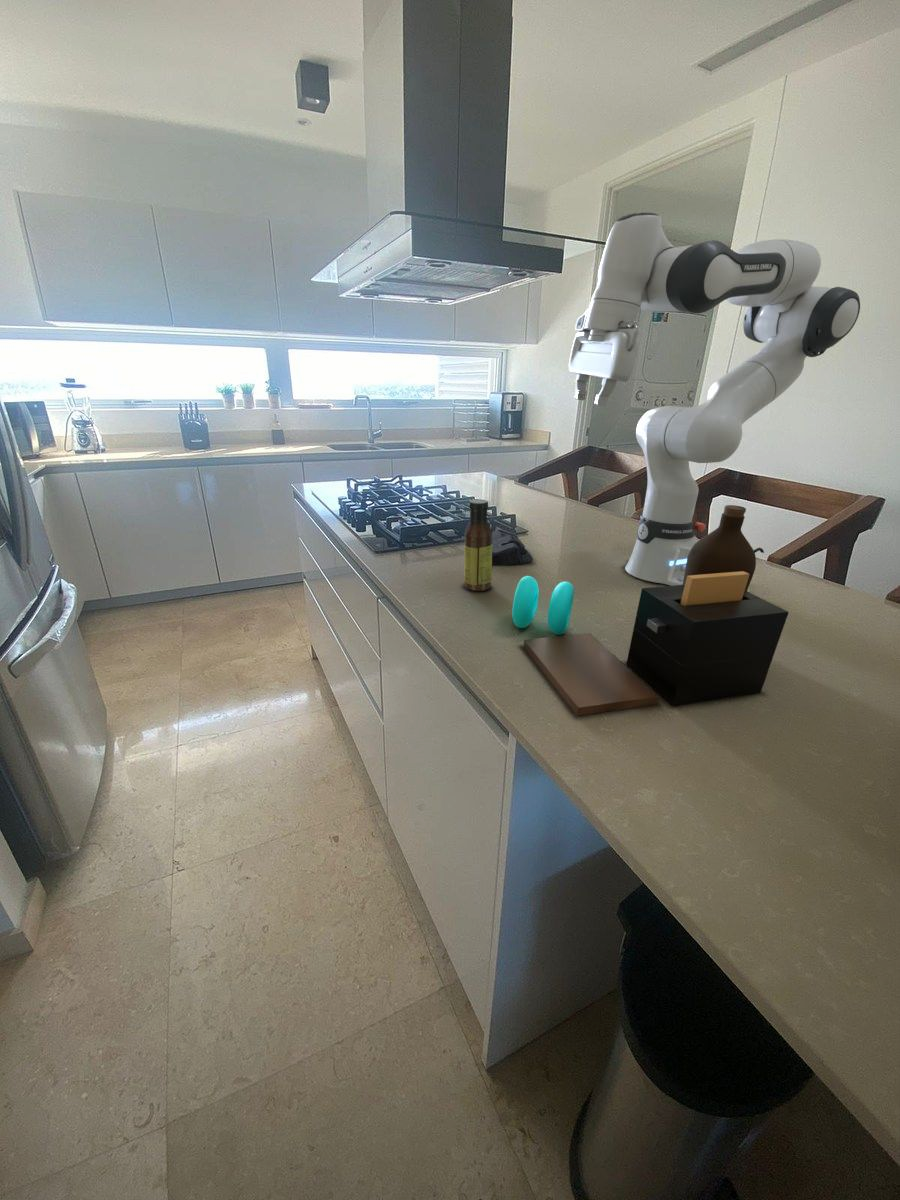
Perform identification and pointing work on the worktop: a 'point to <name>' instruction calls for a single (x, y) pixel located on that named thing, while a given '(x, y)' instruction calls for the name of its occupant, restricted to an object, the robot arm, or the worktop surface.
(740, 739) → the worktop surface
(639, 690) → the cutting board
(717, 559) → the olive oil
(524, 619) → the turquoise disc pair
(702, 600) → the toast
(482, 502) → the sauce bottle
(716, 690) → the toaster
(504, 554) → the dark slate chunk
